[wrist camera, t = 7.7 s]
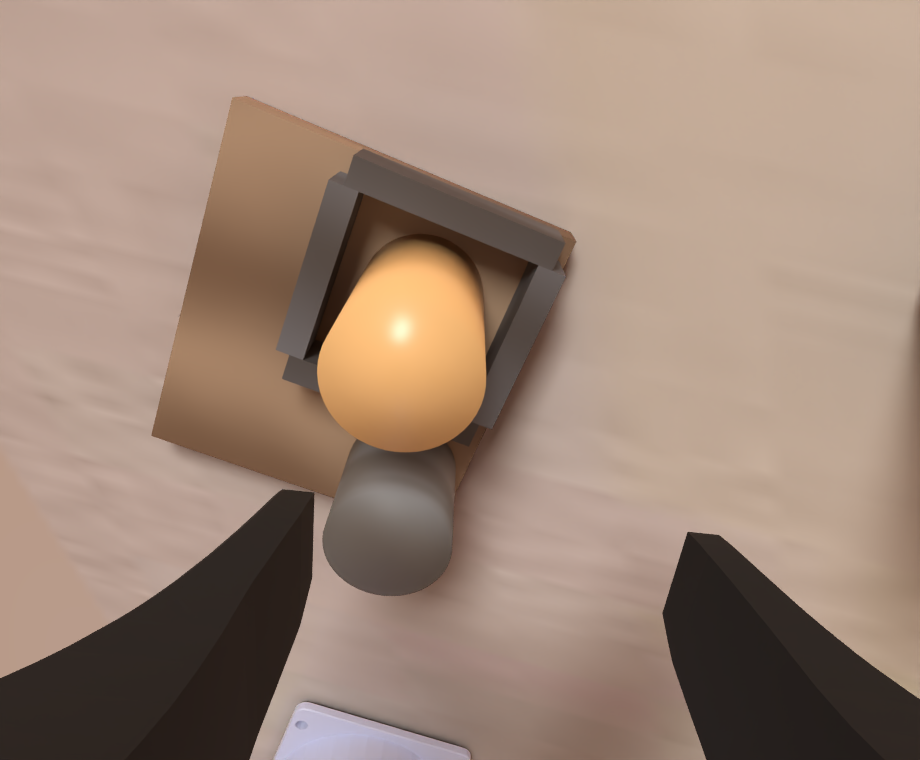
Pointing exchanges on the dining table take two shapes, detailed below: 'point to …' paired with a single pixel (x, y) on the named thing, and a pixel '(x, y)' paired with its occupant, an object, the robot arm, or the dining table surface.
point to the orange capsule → (408, 347)
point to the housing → (311, 318)
